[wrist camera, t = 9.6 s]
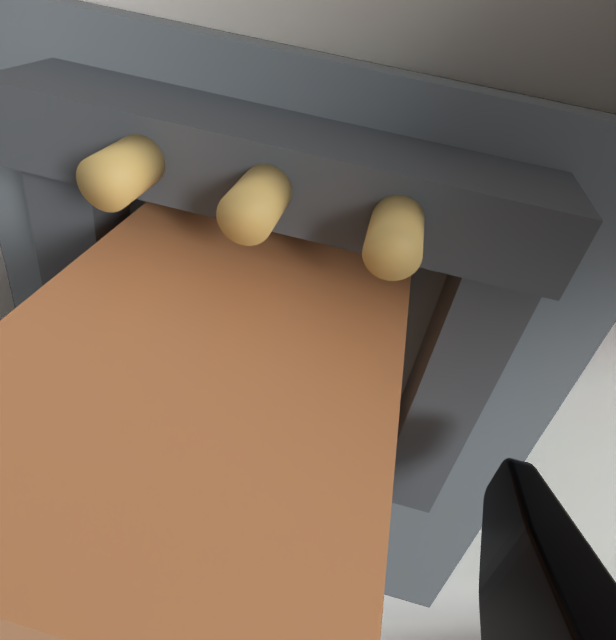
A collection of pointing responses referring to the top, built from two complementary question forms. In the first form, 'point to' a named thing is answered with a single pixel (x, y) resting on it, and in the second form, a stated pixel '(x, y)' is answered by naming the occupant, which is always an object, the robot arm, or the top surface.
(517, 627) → the robot arm
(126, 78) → the flat gray board
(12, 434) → the block
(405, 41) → the top surface
